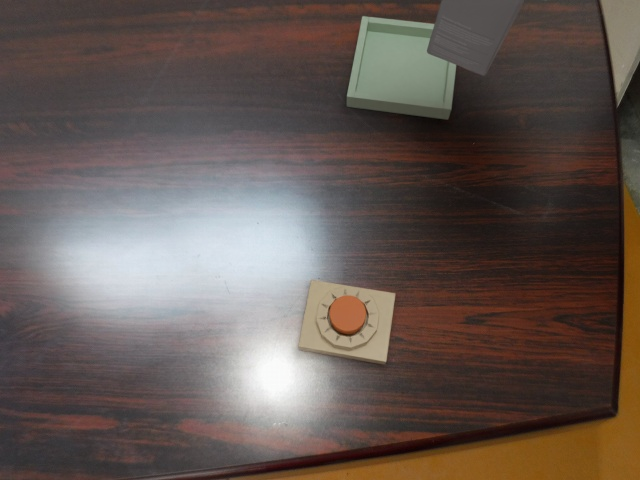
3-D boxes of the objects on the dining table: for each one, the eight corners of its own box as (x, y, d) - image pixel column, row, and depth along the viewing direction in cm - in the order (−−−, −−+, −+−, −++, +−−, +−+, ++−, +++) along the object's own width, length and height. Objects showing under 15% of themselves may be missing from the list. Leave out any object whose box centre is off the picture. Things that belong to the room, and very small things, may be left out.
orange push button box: (394, 298, 64) (397, 288, 60) (384, 364, 61) (387, 359, 58) (312, 284, 65) (310, 274, 61) (299, 349, 62) (296, 343, 59)
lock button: (368, 302, 60) (368, 298, 59) (362, 337, 59) (363, 334, 57) (333, 296, 61) (332, 292, 59) (327, 331, 59) (326, 327, 58)
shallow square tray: (457, 38, 78) (460, 26, 75) (448, 119, 73) (451, 109, 71) (361, 28, 79) (362, 15, 77) (346, 106, 74) (346, 96, 72)
